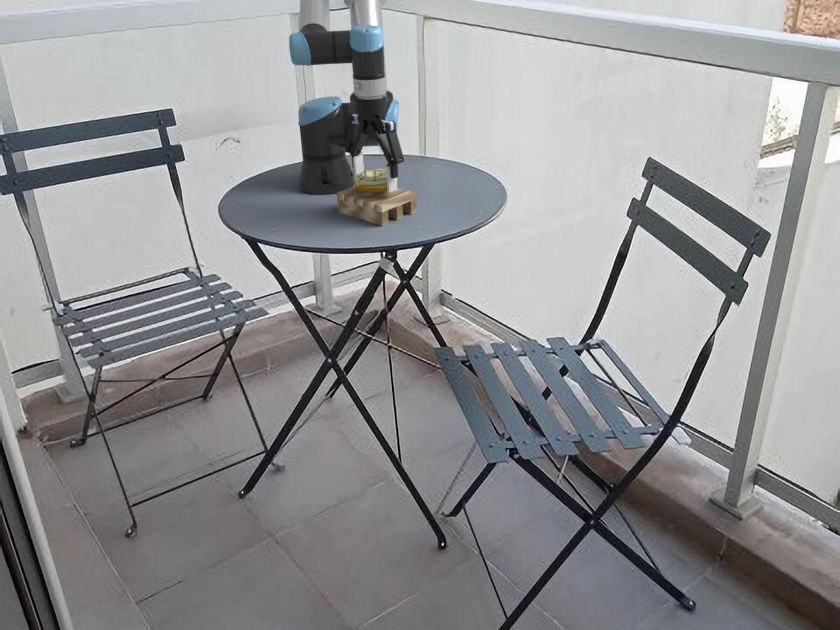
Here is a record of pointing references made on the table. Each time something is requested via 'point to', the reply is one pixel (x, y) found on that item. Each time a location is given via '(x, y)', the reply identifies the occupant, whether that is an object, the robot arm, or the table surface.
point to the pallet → (376, 204)
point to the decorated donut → (371, 181)
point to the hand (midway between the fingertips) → (375, 185)
